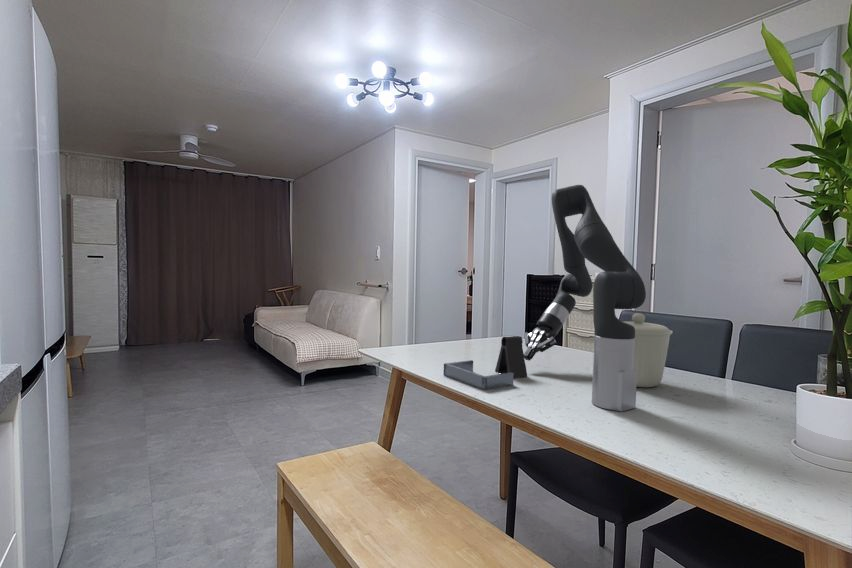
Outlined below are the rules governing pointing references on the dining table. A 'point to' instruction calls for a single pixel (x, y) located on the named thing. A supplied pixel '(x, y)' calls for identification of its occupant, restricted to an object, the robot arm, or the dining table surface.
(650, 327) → the canister
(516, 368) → the black folding stand
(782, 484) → the dining table surface
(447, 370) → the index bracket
